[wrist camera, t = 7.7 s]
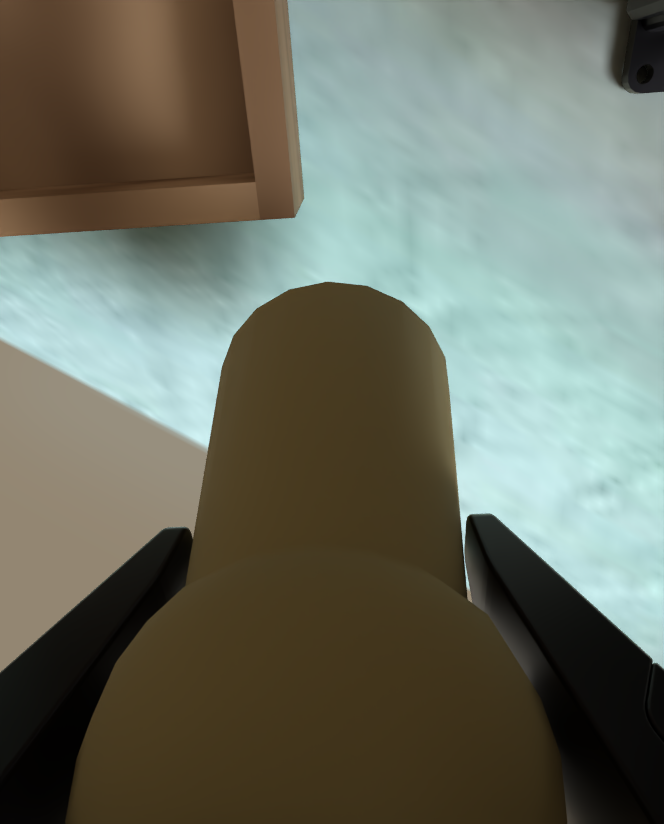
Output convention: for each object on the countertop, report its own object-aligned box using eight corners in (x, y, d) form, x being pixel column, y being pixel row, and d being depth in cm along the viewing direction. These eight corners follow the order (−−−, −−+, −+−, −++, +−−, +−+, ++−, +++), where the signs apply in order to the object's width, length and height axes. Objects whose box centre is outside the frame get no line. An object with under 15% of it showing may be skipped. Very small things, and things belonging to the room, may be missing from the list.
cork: (497, 364, 14) (867, 975, 4) (363, 516, 16) (390, 1108, 7) (295, 231, 12) (100, 693, 2) (183, 421, 15) (-128, 1012, 5)
